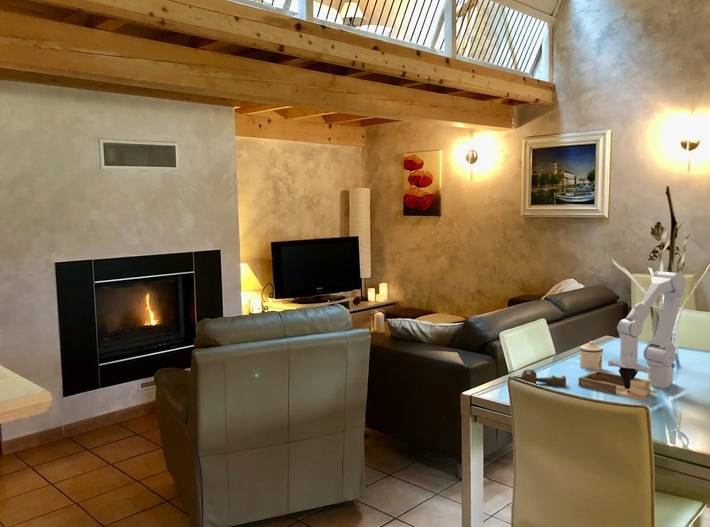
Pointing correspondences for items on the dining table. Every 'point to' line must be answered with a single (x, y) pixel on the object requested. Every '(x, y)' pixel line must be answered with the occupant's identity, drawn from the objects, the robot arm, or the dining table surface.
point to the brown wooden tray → (607, 384)
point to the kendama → (532, 377)
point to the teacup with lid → (591, 356)
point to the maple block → (640, 386)
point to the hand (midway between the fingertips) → (627, 388)
